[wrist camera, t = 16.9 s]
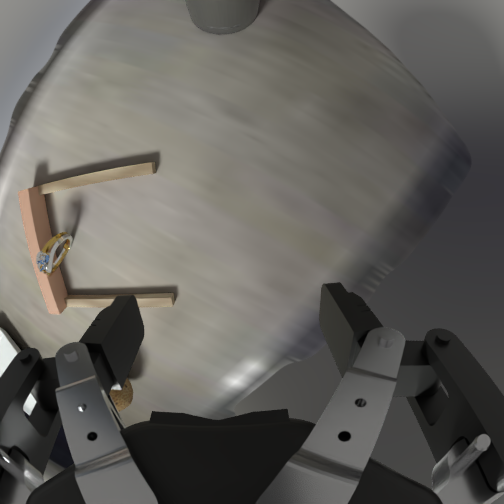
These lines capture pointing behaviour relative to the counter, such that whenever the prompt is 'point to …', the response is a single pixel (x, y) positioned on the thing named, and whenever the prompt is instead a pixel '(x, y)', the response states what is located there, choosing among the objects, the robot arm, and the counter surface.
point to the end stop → (37, 239)
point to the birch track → (97, 177)
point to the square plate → (3, 352)
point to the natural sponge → (122, 396)
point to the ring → (47, 258)
